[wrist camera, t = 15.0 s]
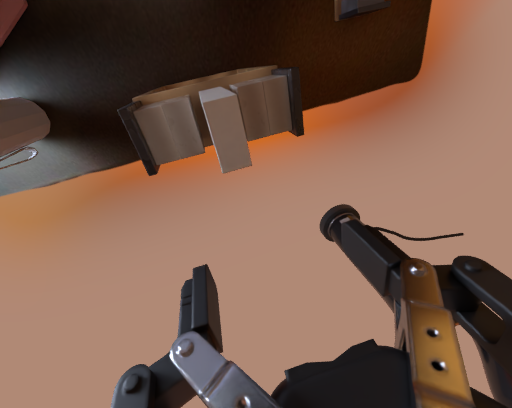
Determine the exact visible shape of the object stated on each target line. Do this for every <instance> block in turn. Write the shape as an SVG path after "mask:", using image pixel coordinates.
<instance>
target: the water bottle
mask: <svg viewBox="0 0 512 408" xmlns="http://www.w3.org/2000/svg"><path fill="white" fill-rule="evenodd" d="M49 132H50V121H49V119H48V117H47V115H46V113H45V111H44V110H42V109H41V108H40V107H39V106H38V105H36V104H35V103H34V102H32V101H29V100H26V99H23V98H20V97H17V98H7V99H0V157H2V156H4V155H6V154H8V153H11V152H13V151H15V150H18V149H20V148H22V147H24V146H27V145H29V144H31V143H34V142H36V141H38V140H41V139H43V138H44V137H45V136H46V135H47V134H48V133H49ZM24 149H25V150H28V151H30V152H32V153H33V155H32V156H31V157H30V158H29V159H27V160H24V161H21V162H18V163H15V164H11V165H8V166H5V167H2V168H0V169H3V168H7V167H10V166H13V165H16V164H19V163H23V162H26V161H28V160H31V159H32V158H34V157H35V156H36V155H37V154H38V152H37V150H36V149H35V148H32V147H25V148H22V149H20V150H18V151H16V152H14V153H12V154H10V155H8V156H6V157H4V158H2V159H1V160H0V161H2V160H4V159H6V158H8V157H10V156H12V155H14V154H16V153H18V152H20V151H22V150H24Z"/></svg>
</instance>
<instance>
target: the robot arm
mask: <svg viewBox="0 0 512 408" xmlns="http://www.w3.org/2000/svg"><path fill="white" fill-rule="evenodd" d="M378 230H380V231H384V232H387V233H391V234H394V235H397V236H399V237H401V238H403V239H407V240H414V241H426V240H435V239H440V238H447V237H454V236H461V235H463V233H458V234H451V235H444V236H437V237H431V238H410V237H406V236H403V235H401V234H398V233H396V232H394V231H390V230H387V229H383V228H379V227H371V226H369V225H365V224H363V223H362V222H361V221H360V220H359V219H358V218H357V217H356V216H355V215H354V214H353V213H350V212H343V213H340V214H338V215H336V216H335V217H334V218H333V219H332V220H331V221H330V223H329V225H328V228H327V232H328V234H329V236H330V237H331V238H332V239H333V240H334V241H335V242H336V244H337V245H338V246H339V247H340V248H341V250H342V251H343V252H344V253H345V254H346V256H347V257H348V258H349V259H350V260H351V262H352V263H353V264H354V265H355V266H356V267H357V269H358V270H359V271H360V272H361V273H362V275H363V276H364V277H365V278H366V279H367V281H368V282H369V283H370V284H371V285H372V286H373V287H374V289H375V290H376V291H377V292H378V293H379V295H380V296H381V297H382V298H383V300H384V301H385V302H386V303H387V305H388V306H389V307H390V308H391V310H392V311H393V313H394V316H395V348H393V347H389V346H378V345H377V344H376V343H375V341H374V339H371V340H368V341H365V342H363V343H360V344H357V345H354V346H352V347H350V348H349V349H348V350H347V351H345V352H344V353H343V354H341V355H340V356H339V357H338V358H336V359H335V360H334V361H329V362H310V363H305V364H302V365H299V366H296V367H294V368H291V369H288V370H285V375H286V379H285V380H284V381H282V382H281V383H280V384H279V385H278V386H277V387H276V389H275V390H274V391H273V393H272V395H271V396H270V395H269V394H268V393H267V392H266V391H264V390H263V389H262V388H261V387H260V386H259V385H258V384H257V383H256V382H255V381H253V380H252V379H251V378H250V377H249V376H248V375H247V374H246V373H245V372H244V371H243V370H242V369H240V368H239V367H238V366H237V365H236V364H235V363H234V362H232V361H228V360H226V359H225V358H224V357H223V356H222V355H221V354H220V353H222V352H223V346H222V336H221V325H220V315H219V303H218V293H217V288H216V284H215V282H214V279H213V277H212V275H211V272H210V270H209V267H208V265H207V264H205V265H203V266H199V267H196V268H193V279H190V280H187V281H185V283H184V285H183V287H182V289H181V303H180V306H181V307H180V317H179V329H178V337H177V339H176V340H175V342H174V343H173V345H172V347H171V350H170V352H169V353H168V354H166V355H165V356H164V357H163V358H161V359H160V360H158V361H157V362H155V363H154V364H152V365H151V366H150V367H148V366H146V365H144V364H139V365H136V366H133V367H132V368H130V369H129V370H128V371H126V372H125V373H124V374H123V375H122V377H121V378H120V380H119V381H118V383H117V385H116V387H115V390H114V394H113V399H112V403H111V408H181V407H182V406H183V405H184V404H186V403H187V402H188V401H189V400H191V399H192V398H193V397H194V396H196V395H198V396H199V398H200V399H201V400H202V401H203V402H204V404H205V405H206V406H207V407H208V408H512V280H511V279H510V278H509V277H507V276H506V275H504V274H503V273H501V272H500V271H499V270H497V269H496V268H494V267H493V266H491V265H490V264H488V263H487V262H485V261H483V260H481V259H479V258H476V257H471V256H458V257H457V258H455V259H454V260H453V263H452V265H431V264H430V263H428V262H426V261H424V260H421V259H417V258H410V257H409V256H408V255H407V254H405V253H404V252H403V251H402V250H400V248H398V247H397V246H396V245H394V243H392V242H391V241H390V240H388V238H386V237H385V236H383V234H382V233H381V232H379V231H378ZM482 302H484V303H485V304H486V305H487V306H488V307H490V308H491V309H492V310H493V311H494V312H495V313H497V314H498V315H499V316H500V317H501V318H502V319H503V320H502V319H500V318H499V317H498V316H497V315H496V314H495V313H494V312H492V311H491V310H490V309H489V308H488V307H486V306H485V305H484V304H483V303H482ZM457 325H461V326H462V327H463V328H464V329H465V330H466V331H467V332H468V333H469V334H470V335H471V336H472V338H473V340H474V342H475V344H476V346H477V349H478V351H479V354H480V357H481V360H482V363H483V367H484V370H485V374H486V378H487V381H488V384H489V387H490V390H491V392H492V394H493V397H494V399H492V398H490V397H488V396H486V395H484V394H483V393H481V392H479V391H477V390H475V389H473V388H472V387H470V386H469V382H468V378H467V374H466V370H465V366H464V362H463V358H462V354H461V351H460V346H459V342H458V338H457V334H456V330H455V326H457Z"/></svg>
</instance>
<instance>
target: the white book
mask: <svg viewBox="0 0 512 408" xmlns="http://www.w3.org/2000/svg"><path fill="white" fill-rule="evenodd" d="M199 95H200V99H201V103H202V106H203V109H204V113H205V116H206V119H207V123H208V126H209V130H210V133H211V136H212V140H213V143H214V146H215V150H216V153H217V157H218V160H219V163H220V167H221V170H222V173H227V172H230V171H234V170H238V169H241V168H245V167H249V166H252V163H251V158H250V153H249V149H248V144H247V140H246V135H245V130H244V126H243V121H242V117H241V112H240V107H239V103H238V98H237V94H235V93H233V92H231V91H229V90H227V89H225V88H222V87H215V88H211V89H207V90H203V91H199Z"/></svg>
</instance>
